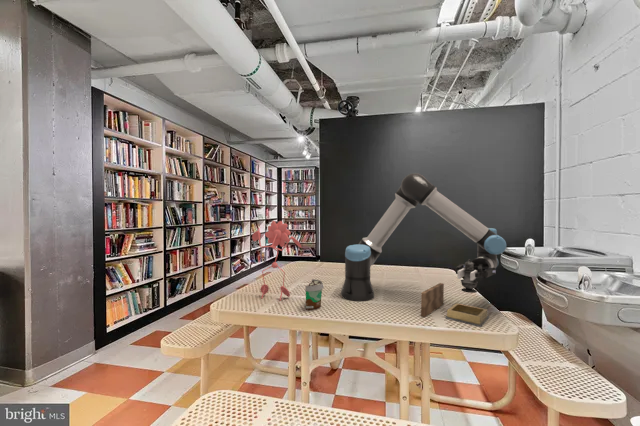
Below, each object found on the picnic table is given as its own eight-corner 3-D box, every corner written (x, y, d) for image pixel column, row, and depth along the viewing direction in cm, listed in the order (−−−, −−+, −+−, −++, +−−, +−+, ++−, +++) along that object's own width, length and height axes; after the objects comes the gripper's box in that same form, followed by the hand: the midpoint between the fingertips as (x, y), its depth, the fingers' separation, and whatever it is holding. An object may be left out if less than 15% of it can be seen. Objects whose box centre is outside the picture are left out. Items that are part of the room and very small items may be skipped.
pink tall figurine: (296, 303, 125) (298, 221, 125) (244, 297, 133) (245, 220, 134) (309, 294, 140) (310, 221, 140) (262, 289, 148) (263, 220, 148)
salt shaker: (457, 289, 113) (457, 257, 113) (471, 288, 113) (472, 257, 113) (466, 293, 107) (466, 260, 107) (481, 292, 107) (481, 260, 107)
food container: (320, 312, 115) (320, 287, 115) (305, 311, 116) (305, 286, 116) (325, 302, 127) (326, 279, 127) (312, 301, 128) (312, 278, 128)
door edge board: (424, 317, 111) (425, 293, 111) (421, 316, 112) (421, 292, 112) (443, 304, 126) (443, 283, 126) (439, 303, 127) (440, 282, 127)
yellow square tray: (480, 327, 102) (481, 318, 102) (445, 318, 110) (445, 310, 110) (489, 317, 111) (489, 309, 111) (455, 310, 119) (455, 302, 119)
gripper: (504, 278, 118) (491, 290, 100) (460, 272, 129) (441, 282, 111) (504, 259, 118) (491, 268, 100) (460, 255, 129) (441, 262, 111)
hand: (464, 275), depth 106 cm, fingers closed on salt shaker, 4 cm apart
